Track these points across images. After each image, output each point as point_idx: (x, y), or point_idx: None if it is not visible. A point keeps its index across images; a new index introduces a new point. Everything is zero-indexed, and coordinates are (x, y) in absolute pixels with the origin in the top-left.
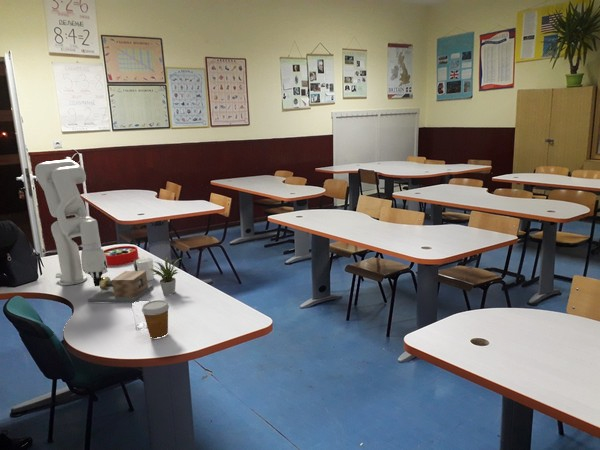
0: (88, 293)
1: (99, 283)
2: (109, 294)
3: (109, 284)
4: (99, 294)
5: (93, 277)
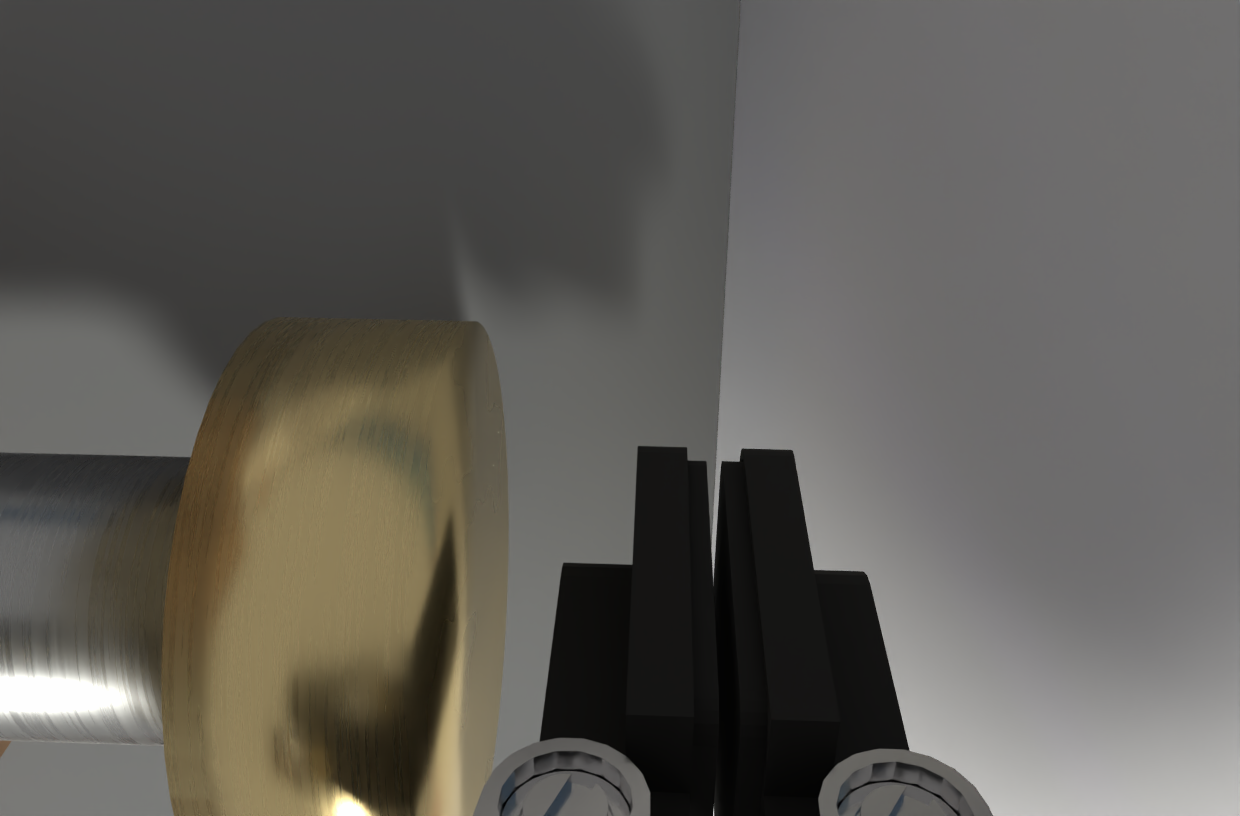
0: (1150, 479)
1: (431, 431)
2: (157, 181)
3: (59, 483)
4: (550, 181)
5: (849, 772)
